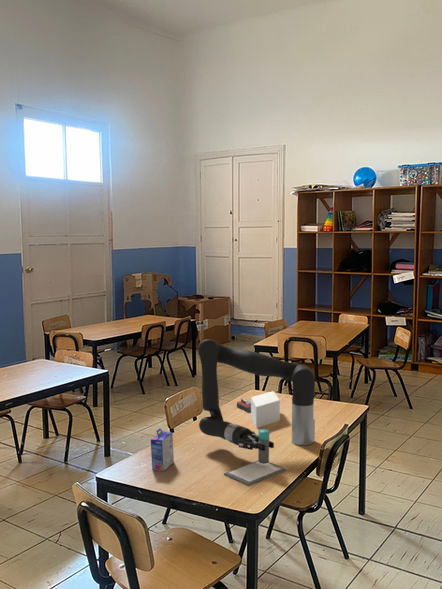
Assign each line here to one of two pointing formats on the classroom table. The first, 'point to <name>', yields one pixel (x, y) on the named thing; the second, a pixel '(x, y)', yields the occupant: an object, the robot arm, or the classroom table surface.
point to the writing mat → (254, 472)
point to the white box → (265, 409)
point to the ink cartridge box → (162, 450)
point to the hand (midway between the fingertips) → (269, 446)
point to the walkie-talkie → (244, 405)
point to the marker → (264, 439)
